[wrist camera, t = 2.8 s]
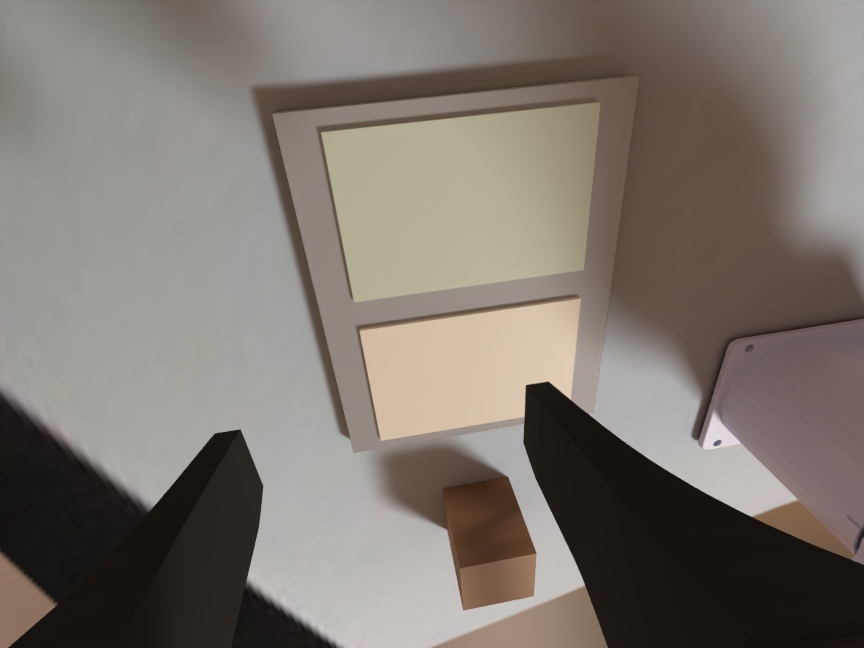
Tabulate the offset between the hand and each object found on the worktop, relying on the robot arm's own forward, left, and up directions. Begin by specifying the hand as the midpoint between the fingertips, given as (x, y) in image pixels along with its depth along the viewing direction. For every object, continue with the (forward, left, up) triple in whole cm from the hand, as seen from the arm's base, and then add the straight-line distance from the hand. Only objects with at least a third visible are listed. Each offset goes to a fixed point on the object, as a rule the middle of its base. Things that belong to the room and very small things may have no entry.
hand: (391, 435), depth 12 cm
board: (-4, +1, -9) cm, 10 cm away
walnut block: (-4, +16, -9) cm, 19 cm away
